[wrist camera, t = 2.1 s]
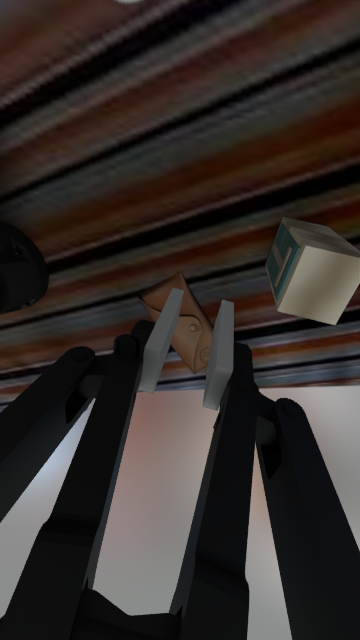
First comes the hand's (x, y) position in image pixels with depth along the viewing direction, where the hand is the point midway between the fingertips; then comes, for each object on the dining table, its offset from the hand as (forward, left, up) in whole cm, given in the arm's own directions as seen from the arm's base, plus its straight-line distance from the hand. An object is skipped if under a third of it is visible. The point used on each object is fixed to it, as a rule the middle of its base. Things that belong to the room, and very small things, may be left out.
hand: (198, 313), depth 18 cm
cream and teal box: (+11, 0, -25) cm, 27 cm away
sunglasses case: (-1, -16, -25) cm, 30 cm away
